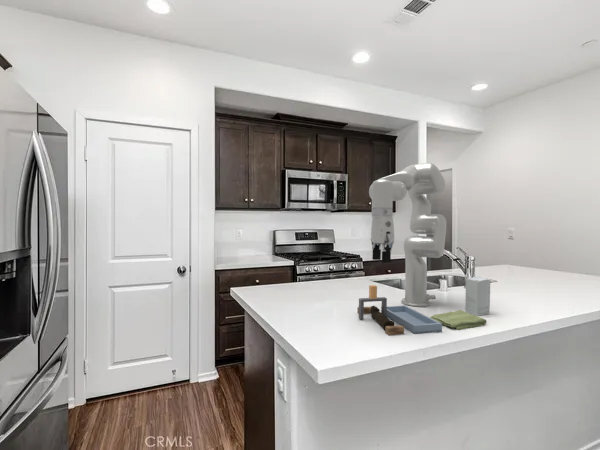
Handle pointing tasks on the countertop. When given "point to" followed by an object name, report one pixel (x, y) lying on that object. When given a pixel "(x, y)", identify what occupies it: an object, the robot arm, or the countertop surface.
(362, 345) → the countertop surface
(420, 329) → the tray
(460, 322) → the washcloth
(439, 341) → the countertop surface
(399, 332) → the cradle
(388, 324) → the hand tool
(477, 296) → the skincare box
